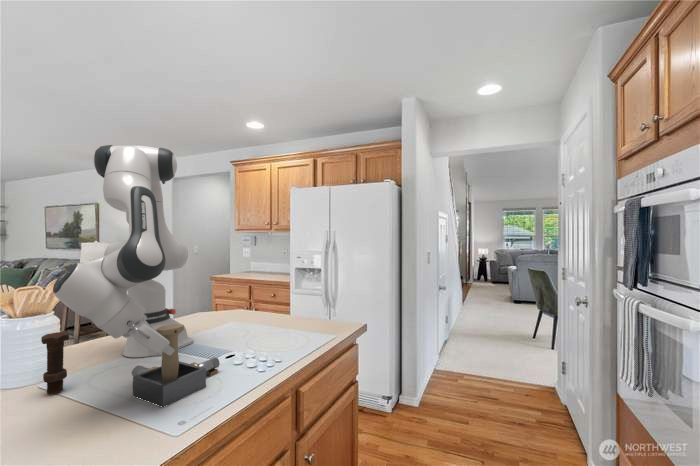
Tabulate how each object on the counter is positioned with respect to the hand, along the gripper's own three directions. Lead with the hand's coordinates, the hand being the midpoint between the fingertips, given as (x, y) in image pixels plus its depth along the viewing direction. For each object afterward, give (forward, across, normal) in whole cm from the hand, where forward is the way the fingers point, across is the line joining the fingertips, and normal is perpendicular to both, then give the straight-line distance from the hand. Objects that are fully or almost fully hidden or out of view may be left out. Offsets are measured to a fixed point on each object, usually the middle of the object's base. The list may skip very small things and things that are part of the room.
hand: (169, 350), depth 86 cm
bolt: (-8, +20, +23) cm, 31 cm away
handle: (+7, 0, +6) cm, 9 cm away
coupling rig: (+10, +6, +6) cm, 12 cm away
